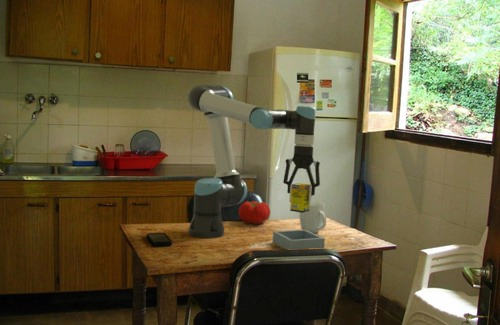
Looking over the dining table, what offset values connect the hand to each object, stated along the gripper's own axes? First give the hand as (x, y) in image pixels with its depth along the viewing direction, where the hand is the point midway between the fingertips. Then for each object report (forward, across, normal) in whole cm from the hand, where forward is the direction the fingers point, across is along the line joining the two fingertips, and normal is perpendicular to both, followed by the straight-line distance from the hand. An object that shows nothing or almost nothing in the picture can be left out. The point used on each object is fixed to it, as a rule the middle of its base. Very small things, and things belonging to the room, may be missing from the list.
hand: (300, 202), depth 221 cm
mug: (+18, +2, +27) cm, 33 cm away
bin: (+18, 0, 0) cm, 18 cm away
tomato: (+18, -27, +34) cm, 47 cm away
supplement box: (+4, 0, 0) cm, 4 cm away
